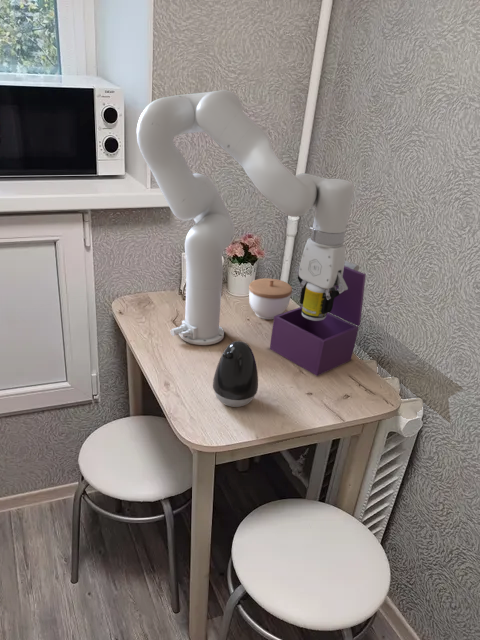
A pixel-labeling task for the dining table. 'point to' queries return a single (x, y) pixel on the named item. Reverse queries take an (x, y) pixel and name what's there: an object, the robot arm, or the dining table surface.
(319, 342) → the box
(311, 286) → the pill bottle
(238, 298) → the dining table surface
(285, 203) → the robot arm
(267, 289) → the lidded bowl
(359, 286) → the file box lid
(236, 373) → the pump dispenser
